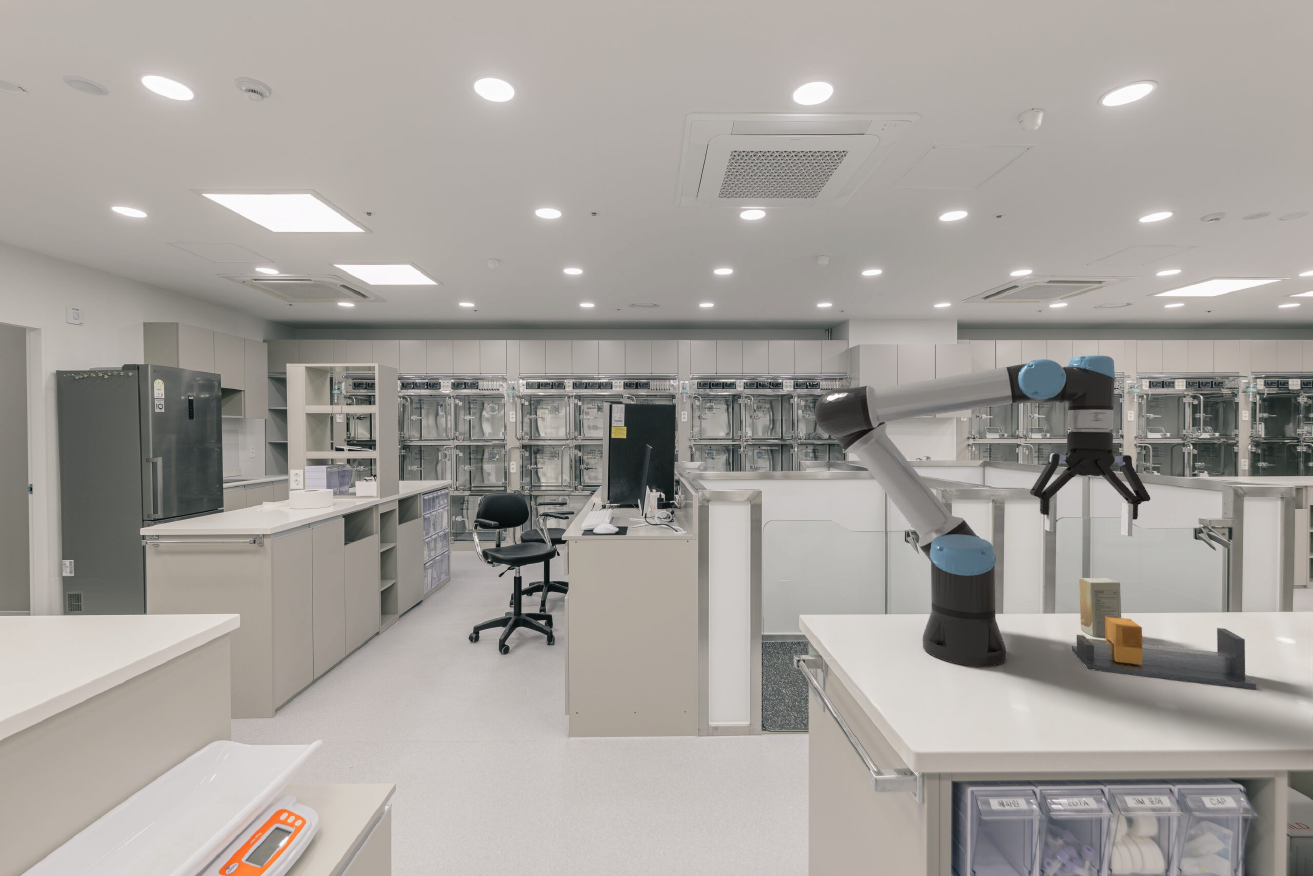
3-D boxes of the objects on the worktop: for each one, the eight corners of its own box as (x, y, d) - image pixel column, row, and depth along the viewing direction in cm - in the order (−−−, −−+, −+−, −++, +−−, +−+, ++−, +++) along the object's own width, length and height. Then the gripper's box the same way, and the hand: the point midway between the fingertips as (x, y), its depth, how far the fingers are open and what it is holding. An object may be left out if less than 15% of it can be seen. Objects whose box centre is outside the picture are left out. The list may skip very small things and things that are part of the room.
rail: (1088, 669, 106) (1087, 627, 106) (1071, 650, 115) (1071, 612, 115) (1256, 689, 97) (1255, 643, 97) (1223, 667, 106) (1222, 625, 106)
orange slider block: (1116, 661, 106) (1115, 625, 106) (1105, 651, 111) (1105, 616, 111) (1142, 664, 104) (1141, 627, 104) (1130, 654, 109) (1130, 618, 109)
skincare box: (1108, 630, 126) (1108, 577, 126) (1123, 637, 122) (1122, 582, 122) (1078, 630, 127) (1078, 577, 127) (1091, 637, 123) (1091, 581, 123)
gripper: (1026, 429, 115) (1024, 531, 115) (1174, 431, 108) (1171, 540, 108) (1015, 430, 122) (1012, 525, 122) (1152, 432, 115) (1150, 534, 115)
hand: (1087, 533), depth 115 cm, fingers open, 13 cm apart
